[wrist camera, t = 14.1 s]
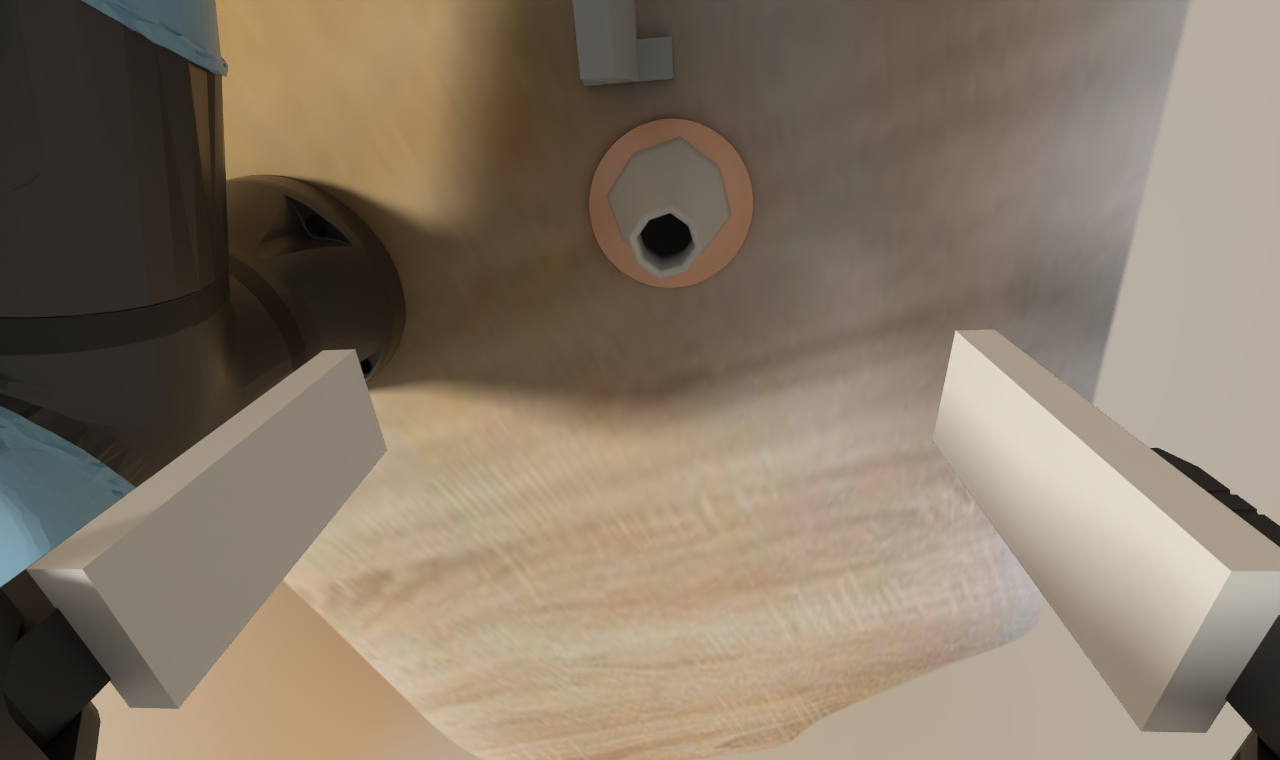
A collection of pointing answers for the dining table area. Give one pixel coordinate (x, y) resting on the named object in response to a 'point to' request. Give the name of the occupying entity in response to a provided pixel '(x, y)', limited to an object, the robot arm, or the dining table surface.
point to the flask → (669, 205)
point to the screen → (617, 45)
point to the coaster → (735, 186)
